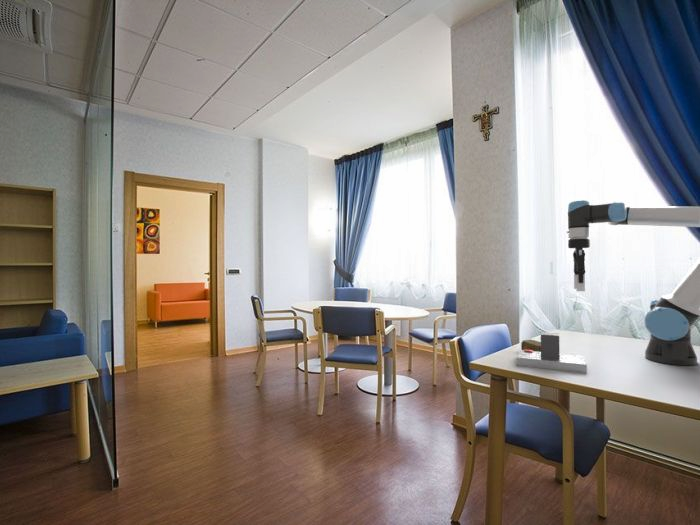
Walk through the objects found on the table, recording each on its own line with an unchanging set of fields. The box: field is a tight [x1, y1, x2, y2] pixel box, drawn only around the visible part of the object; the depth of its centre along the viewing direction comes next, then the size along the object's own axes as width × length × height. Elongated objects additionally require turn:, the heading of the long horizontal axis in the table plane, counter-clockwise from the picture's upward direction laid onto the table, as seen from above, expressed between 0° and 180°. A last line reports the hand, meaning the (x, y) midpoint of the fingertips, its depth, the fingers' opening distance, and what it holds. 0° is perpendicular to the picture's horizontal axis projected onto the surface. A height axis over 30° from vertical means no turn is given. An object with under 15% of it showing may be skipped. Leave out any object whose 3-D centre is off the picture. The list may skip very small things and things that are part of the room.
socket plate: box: [516, 349, 588, 374], centre depth 136 cm, size 22×13×4 cm, turn 62°
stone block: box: [520, 339, 541, 352], centre depth 153 cm, size 6×12×5 cm, turn 14°
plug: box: [540, 331, 561, 359], centre depth 136 cm, size 6×5×12 cm
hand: (579, 290), depth 150 cm, fingers open, 13 cm apart
